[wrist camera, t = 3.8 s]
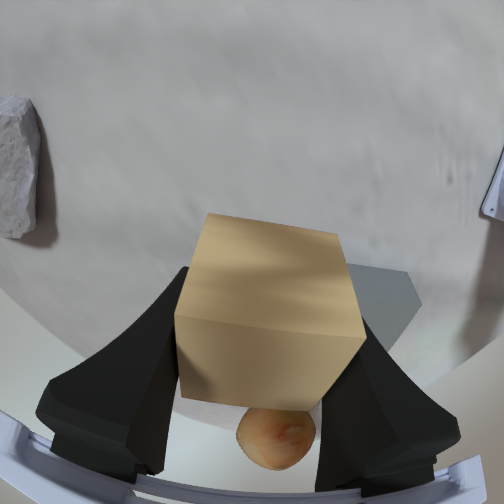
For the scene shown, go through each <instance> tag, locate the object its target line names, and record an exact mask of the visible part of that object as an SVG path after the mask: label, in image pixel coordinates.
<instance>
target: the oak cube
mask: <svg viewBox="0 0 504 504" xmlns="http://www.w3.org/2000/svg"><path fill="white" fill-rule="evenodd" d="M174 318H175V333H176V346H177V358H178V369H179V379H180V388H181V397H183V398H188V399H194V400H200V401H206V402H212V403H219V404H226V405H233V406H242V407H251V408H261V409H273V410H289V411H311V410H312V409H313V408H314V407H315V406H316V404H317V403H318V402H319V401H320V400H321V398H322V397H323V396H324V395H325V393H326V392H327V391H328V390H329V388H330V387H331V386H332V385H333V383H334V382H335V381H336V379H337V378H338V377H339V376H340V374H341V373H342V372H343V370H344V369H345V368H346V366H347V365H348V364H349V362H350V361H351V359H352V358H353V357H354V355H355V354H356V352H357V351H358V350H359V348H360V347H361V345H362V344H363V342H364V341H365V340H366V338H367V337H366V333H365V329H364V325H363V321H362V317H361V313H360V310H359V306H358V302H357V298H356V295H355V291H354V288H353V284H352V281H351V277H350V274H349V271H348V267H347V264H346V261H345V258H344V254H343V251H342V248H341V245H340V242H339V239H338V236H337V234H333V233H328V232H322V231H317V230H311V229H305V228H299V227H293V226H288V225H282V224H276V223H270V222H263V221H257V220H251V219H245V218H238V217H232V216H225V215H218V214H212V213H208V216H207V218H206V221H205V224H204V227H203V229H202V232H201V235H200V238H199V241H198V244H197V246H196V249H195V252H194V255H193V258H192V261H191V264H190V267H189V270H188V273H187V276H186V279H185V282H184V285H183V288H182V291H181V294H180V297H179V300H178V304H177V307H176V310H175V313H174Z"/></svg>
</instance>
